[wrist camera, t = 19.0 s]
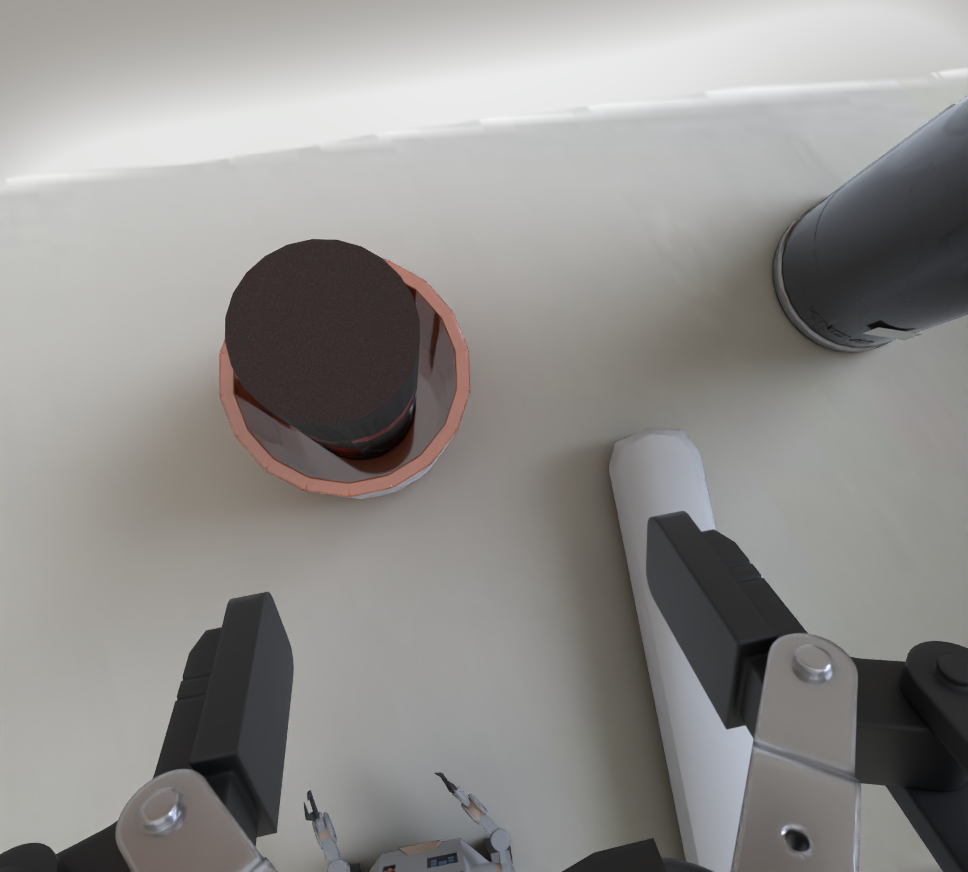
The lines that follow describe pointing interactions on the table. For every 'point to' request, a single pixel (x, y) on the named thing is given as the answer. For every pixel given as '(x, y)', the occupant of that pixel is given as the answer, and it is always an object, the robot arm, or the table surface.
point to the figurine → (426, 845)
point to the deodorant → (329, 345)
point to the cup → (427, 439)
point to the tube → (676, 689)
